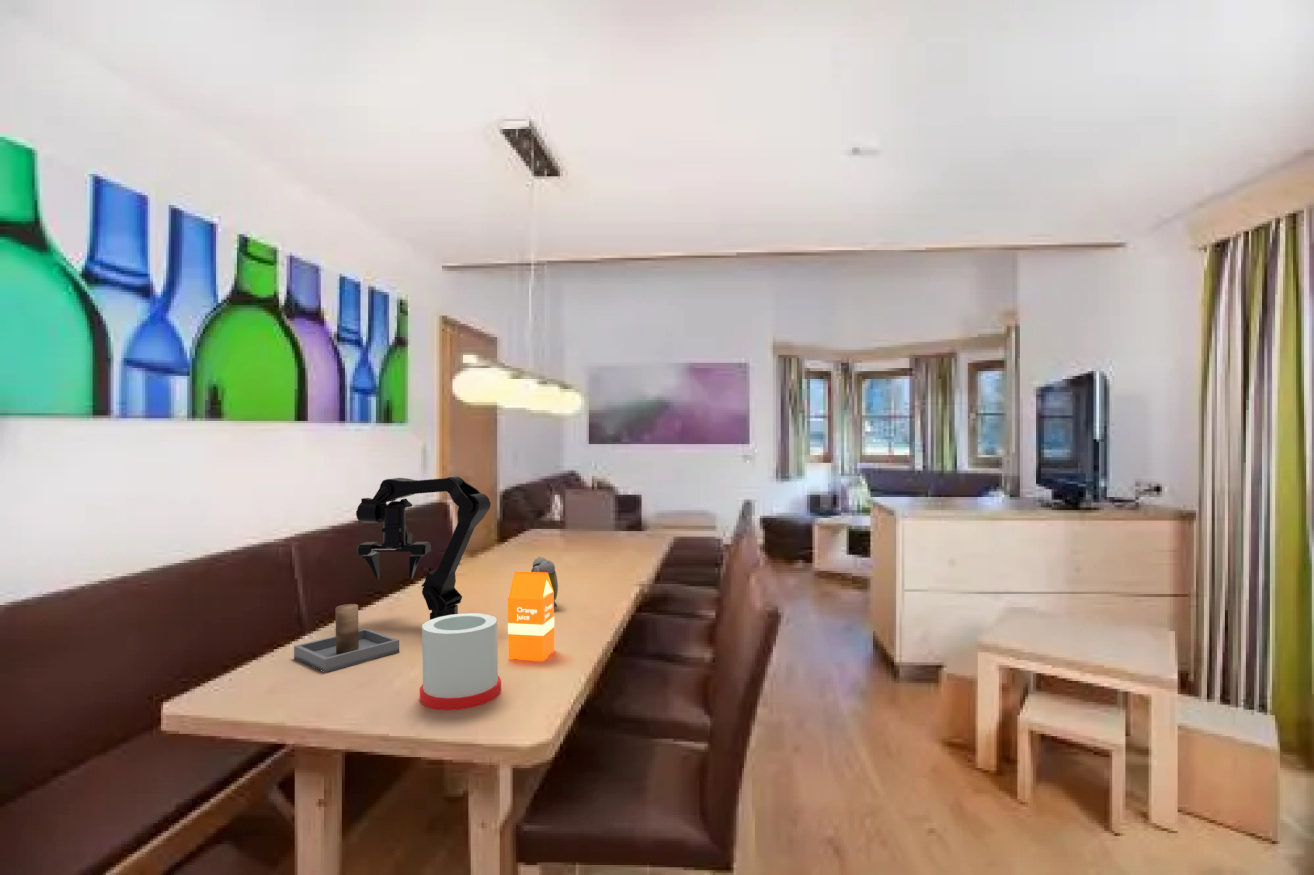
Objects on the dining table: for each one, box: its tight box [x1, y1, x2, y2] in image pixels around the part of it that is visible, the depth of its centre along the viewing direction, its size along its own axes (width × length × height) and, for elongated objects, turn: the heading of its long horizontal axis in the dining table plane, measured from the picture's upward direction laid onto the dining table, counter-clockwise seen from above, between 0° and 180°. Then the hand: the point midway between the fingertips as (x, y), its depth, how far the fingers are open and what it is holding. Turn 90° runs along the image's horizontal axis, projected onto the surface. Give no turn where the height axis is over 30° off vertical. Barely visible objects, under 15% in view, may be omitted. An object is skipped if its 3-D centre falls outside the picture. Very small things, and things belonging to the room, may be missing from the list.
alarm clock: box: [530, 556, 559, 607], centre depth 206 cm, size 12×7×15 cm, turn 28°
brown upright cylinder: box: [334, 603, 359, 655], centre depth 164 cm, size 5×5×11 cm
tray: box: [293, 628, 400, 673], centre depth 164 cm, size 18×16×3 cm
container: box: [419, 612, 502, 711], centre depth 138 cm, size 16×16×15 cm
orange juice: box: [507, 571, 555, 662], centre depth 162 cm, size 8×9×20 cm
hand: (394, 579), depth 188 cm, fingers open, 9 cm apart
